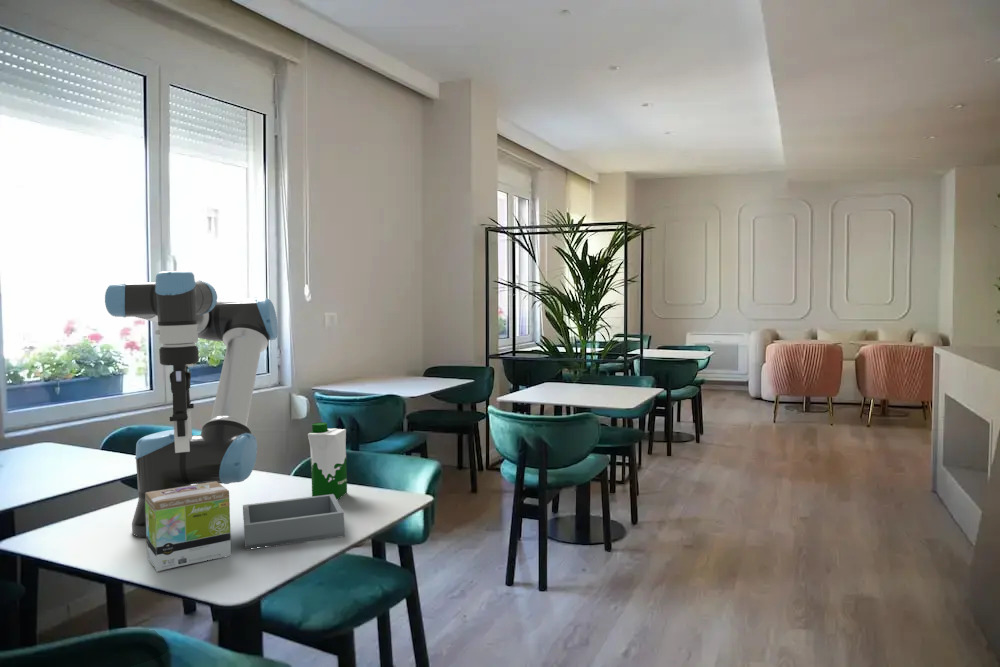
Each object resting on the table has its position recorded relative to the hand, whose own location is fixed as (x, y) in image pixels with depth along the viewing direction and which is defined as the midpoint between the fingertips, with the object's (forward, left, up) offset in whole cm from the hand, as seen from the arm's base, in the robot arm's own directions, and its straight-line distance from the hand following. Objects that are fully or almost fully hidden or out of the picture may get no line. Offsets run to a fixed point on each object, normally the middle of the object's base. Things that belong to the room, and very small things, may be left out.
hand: (184, 445), depth 156 cm
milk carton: (-34, +34, -24) cm, 54 cm away
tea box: (0, 0, -25) cm, 25 cm away
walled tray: (-8, +22, -24) cm, 34 cm away
